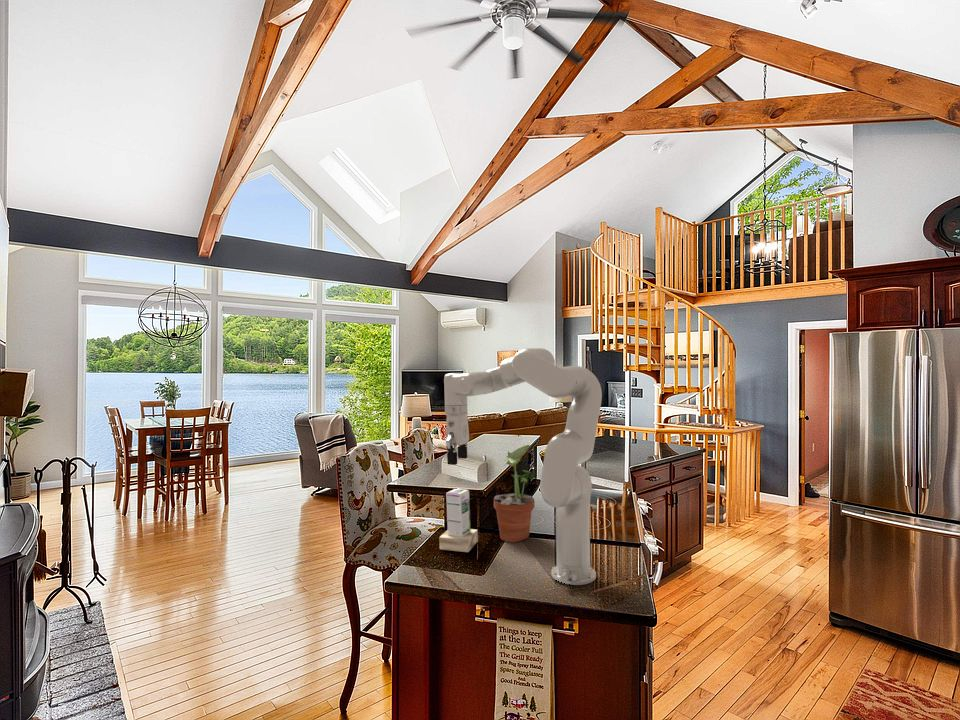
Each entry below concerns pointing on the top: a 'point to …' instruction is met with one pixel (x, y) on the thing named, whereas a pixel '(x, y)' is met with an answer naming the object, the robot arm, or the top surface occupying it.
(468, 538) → the birch block
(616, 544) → the top surface
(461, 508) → the syrup box
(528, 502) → the potted plant
